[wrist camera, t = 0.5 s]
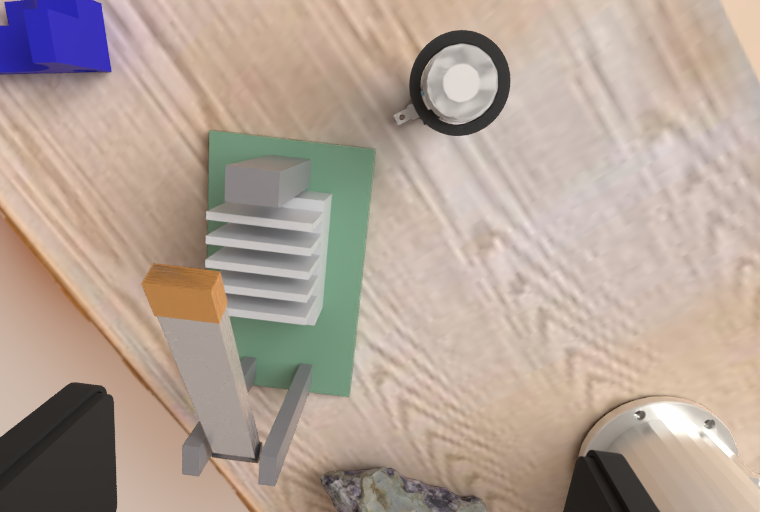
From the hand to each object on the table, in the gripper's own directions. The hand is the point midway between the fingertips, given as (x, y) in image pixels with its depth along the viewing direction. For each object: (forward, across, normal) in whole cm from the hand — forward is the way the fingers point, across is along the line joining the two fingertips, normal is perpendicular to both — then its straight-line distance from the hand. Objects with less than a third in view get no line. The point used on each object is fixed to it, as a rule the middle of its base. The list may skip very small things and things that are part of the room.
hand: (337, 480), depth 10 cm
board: (+29, +7, +5) cm, 30 cm away
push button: (+29, -2, -9) cm, 30 cm away
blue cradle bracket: (+29, +27, -9) cm, 41 cm away
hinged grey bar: (+14, +7, +7) cm, 18 cm away
